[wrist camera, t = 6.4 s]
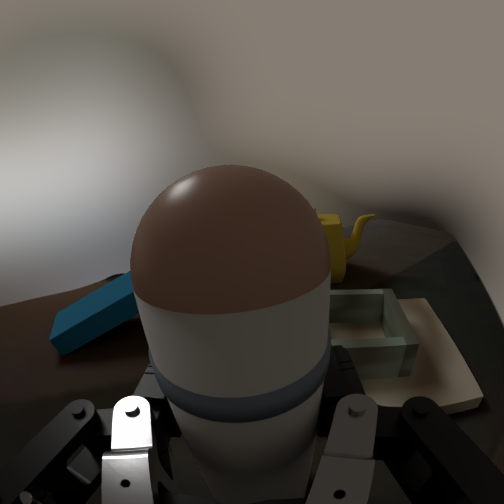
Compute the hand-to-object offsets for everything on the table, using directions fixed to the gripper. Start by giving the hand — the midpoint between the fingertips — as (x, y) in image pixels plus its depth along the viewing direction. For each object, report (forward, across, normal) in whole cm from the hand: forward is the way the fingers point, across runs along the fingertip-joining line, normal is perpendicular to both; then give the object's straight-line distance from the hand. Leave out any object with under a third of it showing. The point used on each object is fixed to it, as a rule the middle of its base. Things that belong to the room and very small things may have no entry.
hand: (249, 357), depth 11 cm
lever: (+16, +16, +9) cm, 24 cm away
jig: (+9, -7, +8) cm, 14 cm away
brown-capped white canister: (-3, 0, +8) cm, 8 cm away
